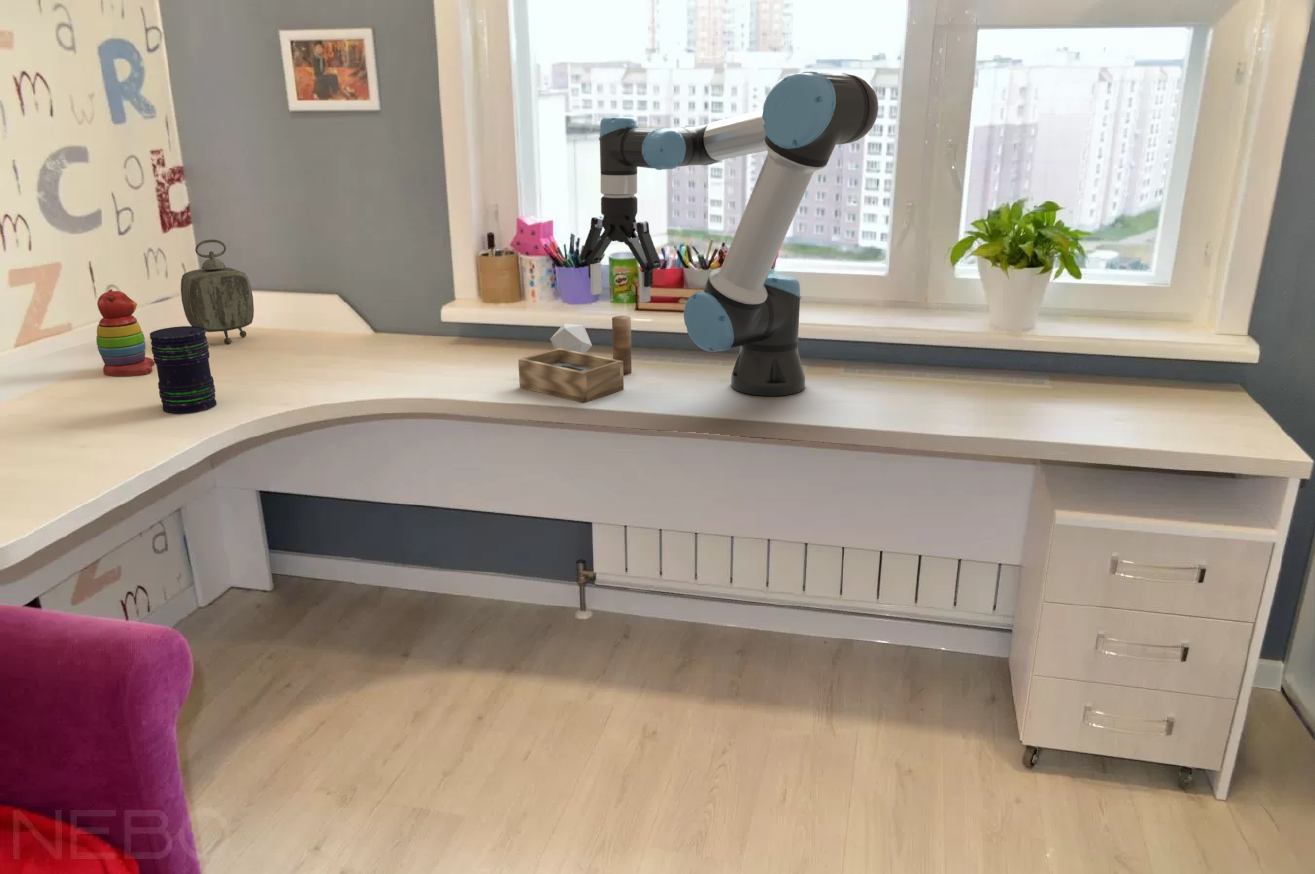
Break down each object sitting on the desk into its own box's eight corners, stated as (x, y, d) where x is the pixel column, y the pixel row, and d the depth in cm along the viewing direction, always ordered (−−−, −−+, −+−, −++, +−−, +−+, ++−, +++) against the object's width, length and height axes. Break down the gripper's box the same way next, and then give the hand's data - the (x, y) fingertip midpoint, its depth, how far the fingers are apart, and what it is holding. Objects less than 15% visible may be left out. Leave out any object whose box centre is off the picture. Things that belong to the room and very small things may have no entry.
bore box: (623, 389, 204) (623, 361, 202) (583, 403, 195) (582, 373, 193) (560, 375, 215) (559, 347, 213) (519, 387, 206) (518, 359, 204)
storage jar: (151, 413, 190) (137, 336, 185) (181, 398, 200) (168, 325, 195) (199, 415, 189) (187, 338, 184) (227, 400, 198) (216, 326, 193)
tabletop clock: (248, 335, 252) (234, 235, 244) (261, 341, 246) (247, 239, 238) (188, 344, 243) (171, 240, 235) (200, 350, 237) (183, 244, 229)
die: (598, 359, 230) (583, 322, 232) (592, 349, 222) (577, 310, 224) (565, 372, 230) (551, 335, 232) (558, 363, 222) (543, 324, 224)
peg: (635, 371, 217) (634, 317, 213) (623, 375, 214) (622, 320, 210) (621, 368, 219) (620, 315, 215) (609, 372, 216) (608, 318, 213)
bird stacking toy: (151, 374, 217) (137, 293, 211) (99, 379, 213) (83, 297, 208) (155, 362, 226) (141, 284, 221) (105, 367, 223) (90, 288, 217)
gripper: (678, 198, 200) (677, 302, 207) (586, 190, 215) (588, 288, 222) (654, 201, 194) (654, 308, 201) (562, 193, 209) (565, 293, 216)
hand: (620, 298), depth 212 cm, fingers open, 13 cm apart
